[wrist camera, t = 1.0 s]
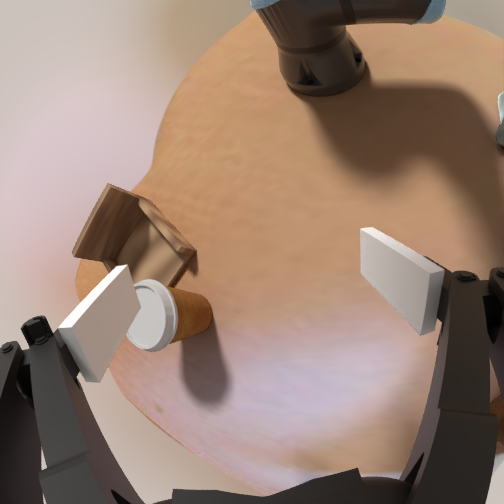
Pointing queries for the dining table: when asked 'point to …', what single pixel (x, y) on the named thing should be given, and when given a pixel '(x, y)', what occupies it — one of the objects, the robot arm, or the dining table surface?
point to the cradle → (133, 238)
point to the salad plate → (503, 129)
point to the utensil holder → (500, 410)
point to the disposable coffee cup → (167, 315)
